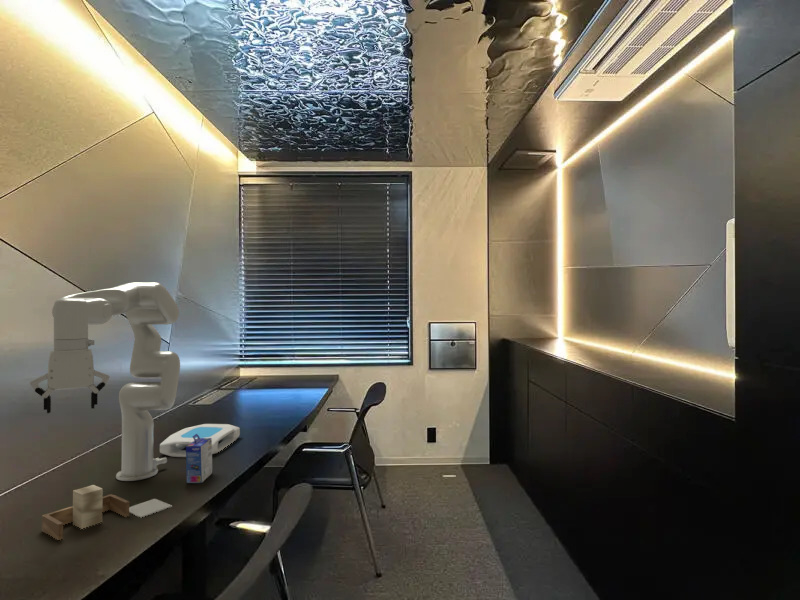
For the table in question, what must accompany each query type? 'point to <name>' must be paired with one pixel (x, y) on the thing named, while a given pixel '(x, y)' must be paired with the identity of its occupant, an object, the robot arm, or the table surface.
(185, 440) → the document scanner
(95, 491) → the block
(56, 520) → the u-shaped frame
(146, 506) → the mat
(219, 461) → the table surface
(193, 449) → the ink cartridge box
